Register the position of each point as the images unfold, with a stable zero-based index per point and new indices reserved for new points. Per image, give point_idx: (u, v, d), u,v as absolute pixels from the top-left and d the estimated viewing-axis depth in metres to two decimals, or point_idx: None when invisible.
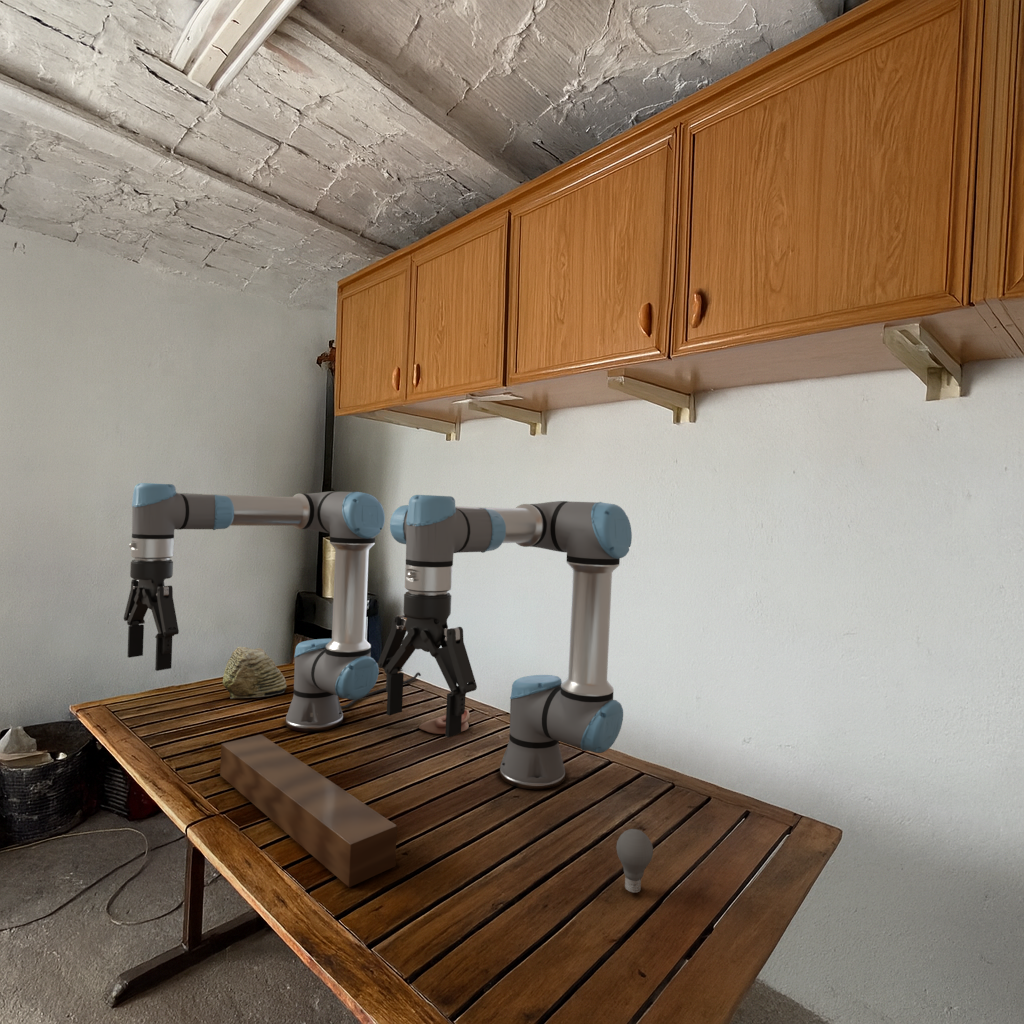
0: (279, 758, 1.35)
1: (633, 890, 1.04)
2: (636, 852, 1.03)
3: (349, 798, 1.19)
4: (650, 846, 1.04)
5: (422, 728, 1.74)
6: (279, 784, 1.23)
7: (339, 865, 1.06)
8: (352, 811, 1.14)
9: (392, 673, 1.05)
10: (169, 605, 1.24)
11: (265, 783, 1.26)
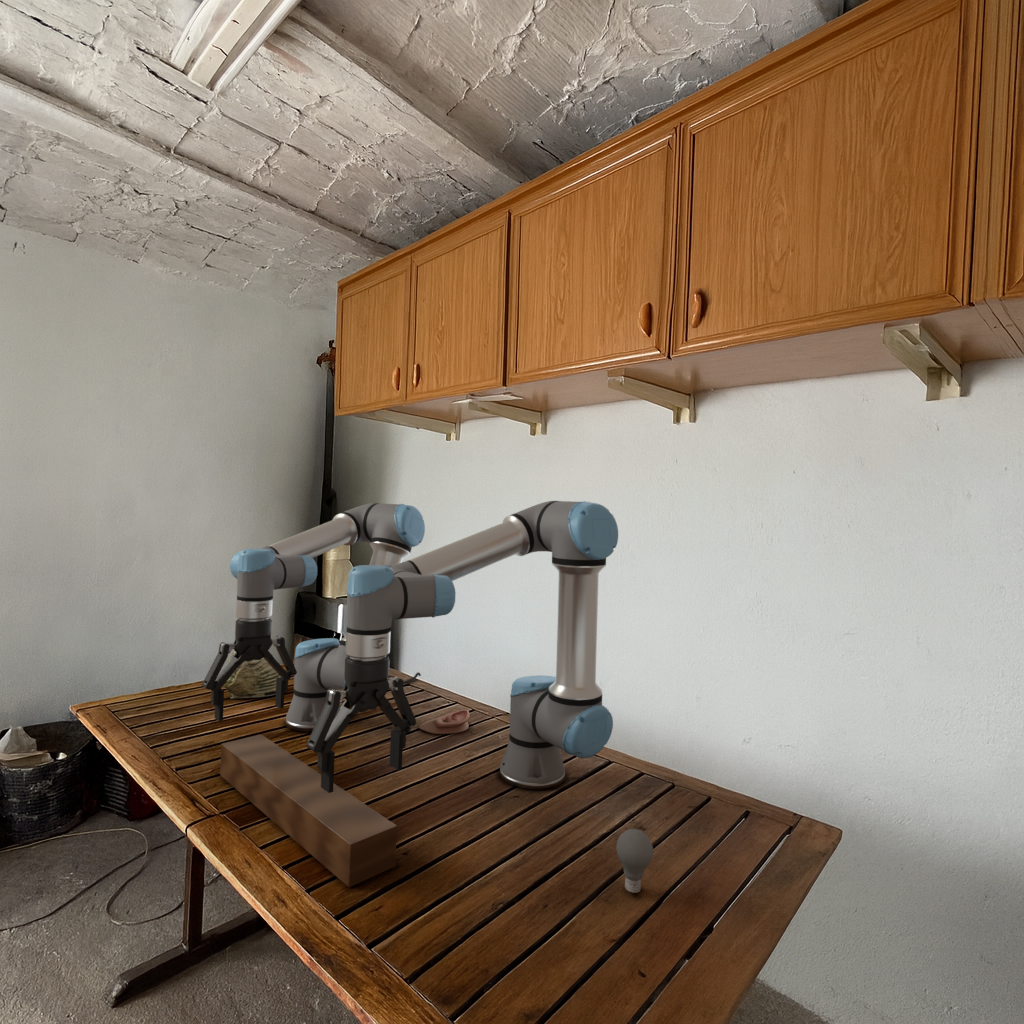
0: (279, 758, 1.35)
1: (633, 890, 1.04)
2: (636, 852, 1.03)
3: (349, 798, 1.19)
4: (650, 846, 1.04)
5: (422, 728, 1.74)
6: (279, 784, 1.23)
7: (339, 865, 1.06)
8: (352, 811, 1.14)
9: None
10: None
11: (265, 783, 1.26)
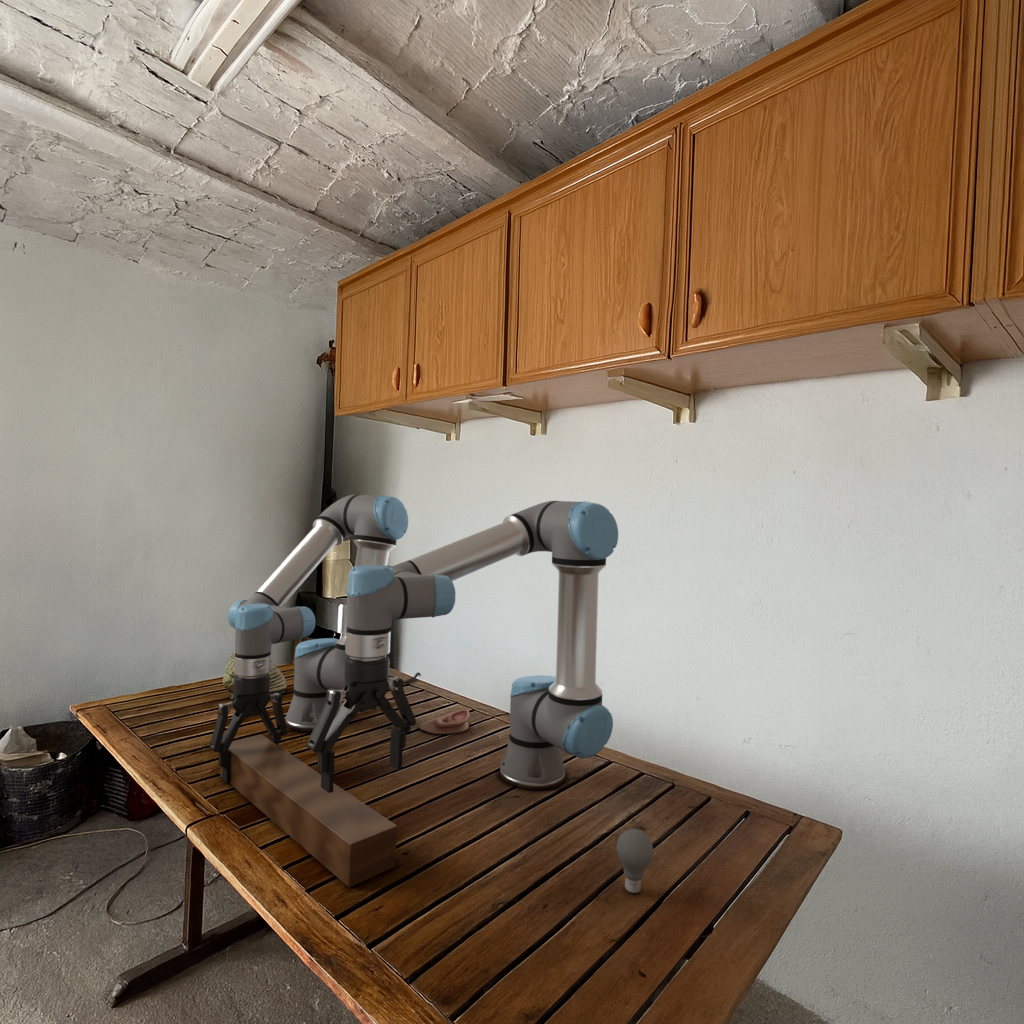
0: (278, 758, 1.35)
1: (633, 890, 1.04)
2: (636, 852, 1.03)
3: (349, 798, 1.19)
4: (650, 846, 1.04)
5: (422, 728, 1.74)
6: (279, 784, 1.23)
7: (339, 865, 1.06)
8: (352, 811, 1.14)
9: None
10: None
11: (265, 783, 1.26)
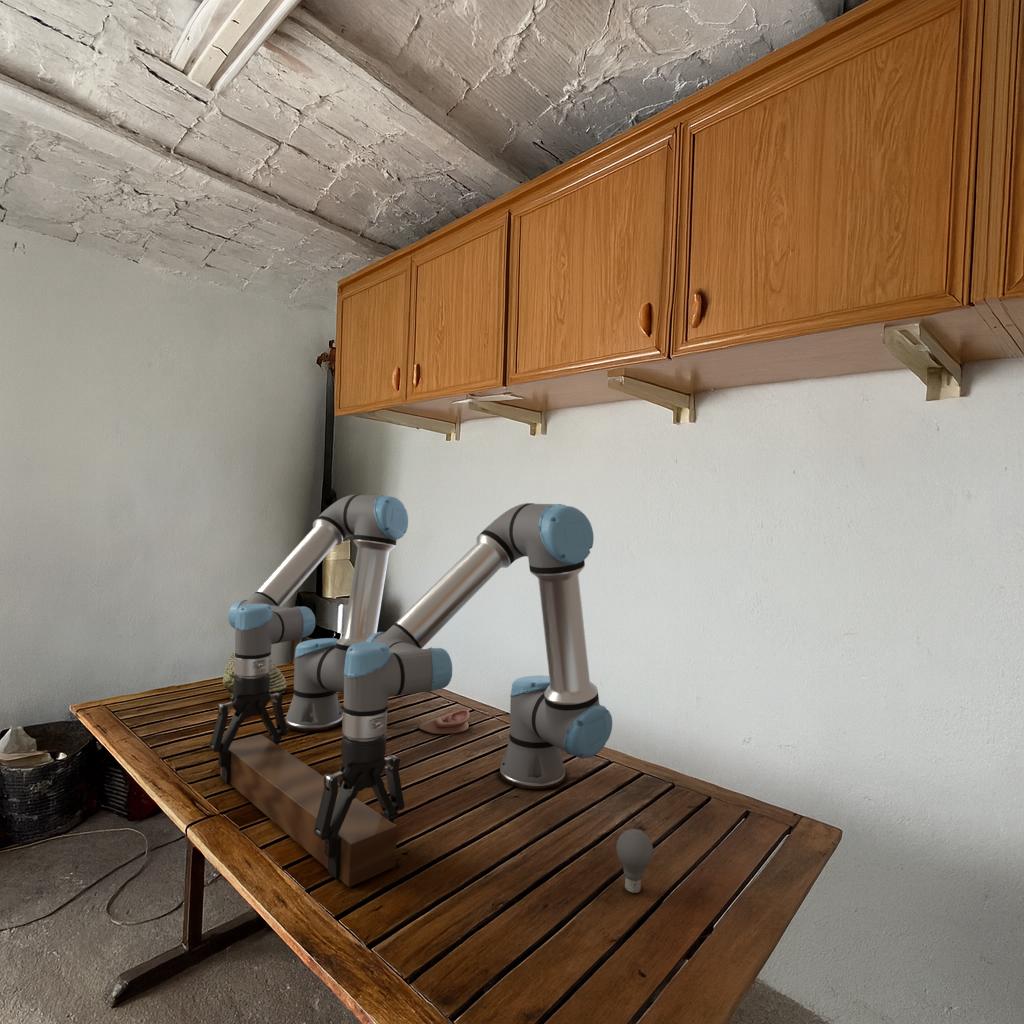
0: (278, 758, 1.35)
1: (633, 890, 1.04)
2: (636, 852, 1.03)
3: None
4: (650, 846, 1.04)
5: (422, 728, 1.74)
6: (279, 784, 1.23)
7: None
8: (352, 811, 1.14)
9: None
10: None
11: (265, 783, 1.26)
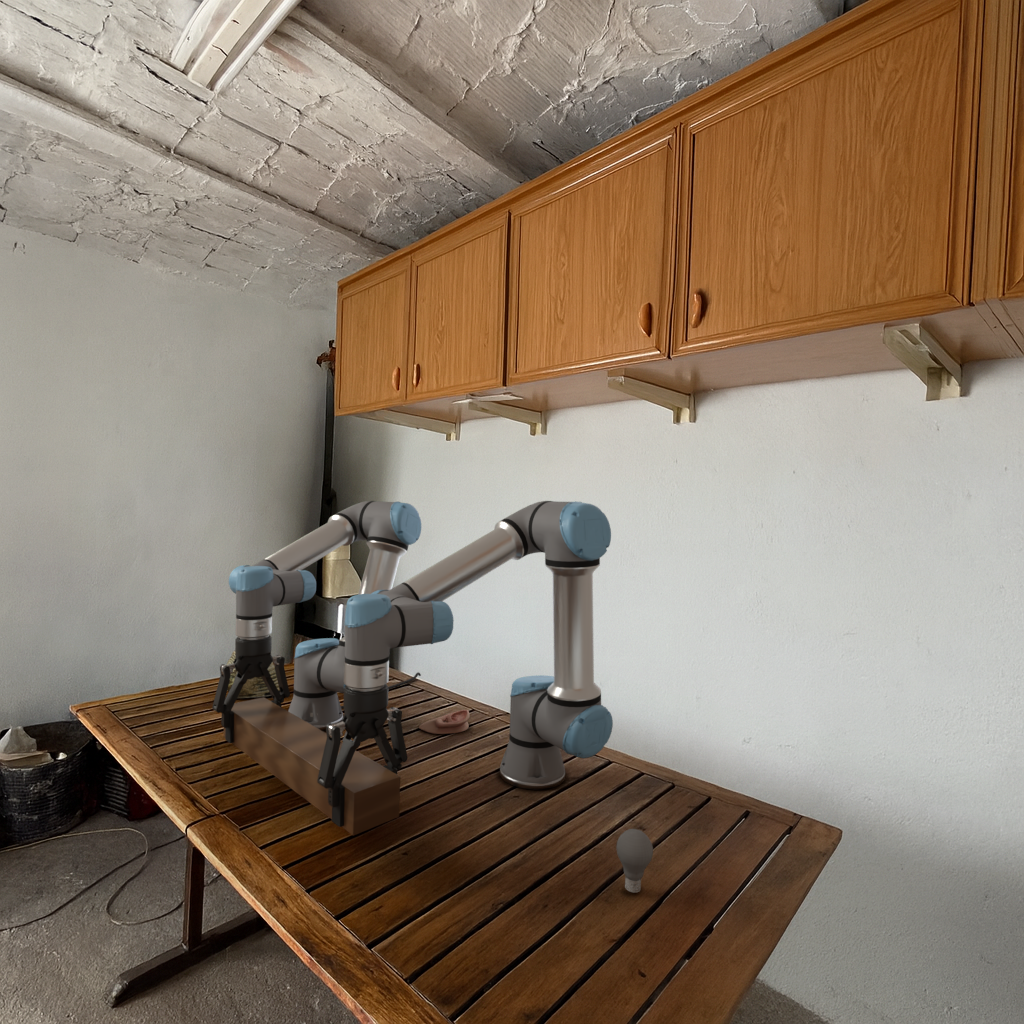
0: (281, 717, 1.35)
1: (633, 890, 1.04)
2: (636, 852, 1.03)
3: None
4: (650, 846, 1.04)
5: (422, 728, 1.74)
6: (282, 741, 1.23)
7: None
8: (356, 763, 1.14)
9: None
10: None
11: (268, 741, 1.26)
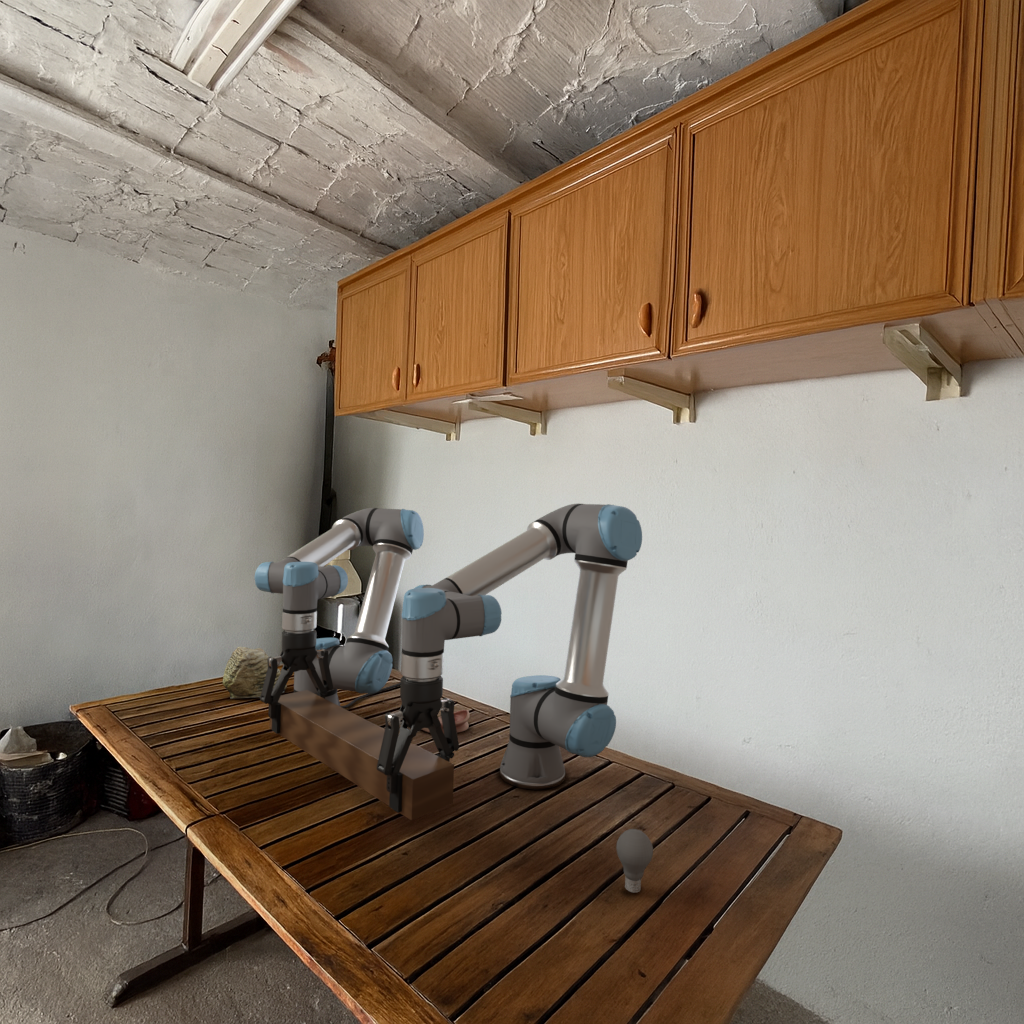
0: (328, 709, 1.39)
1: (633, 890, 1.04)
2: (636, 852, 1.03)
3: None
4: (650, 846, 1.04)
5: None
6: (334, 731, 1.27)
7: None
8: (409, 752, 1.18)
9: None
10: None
11: (319, 731, 1.29)
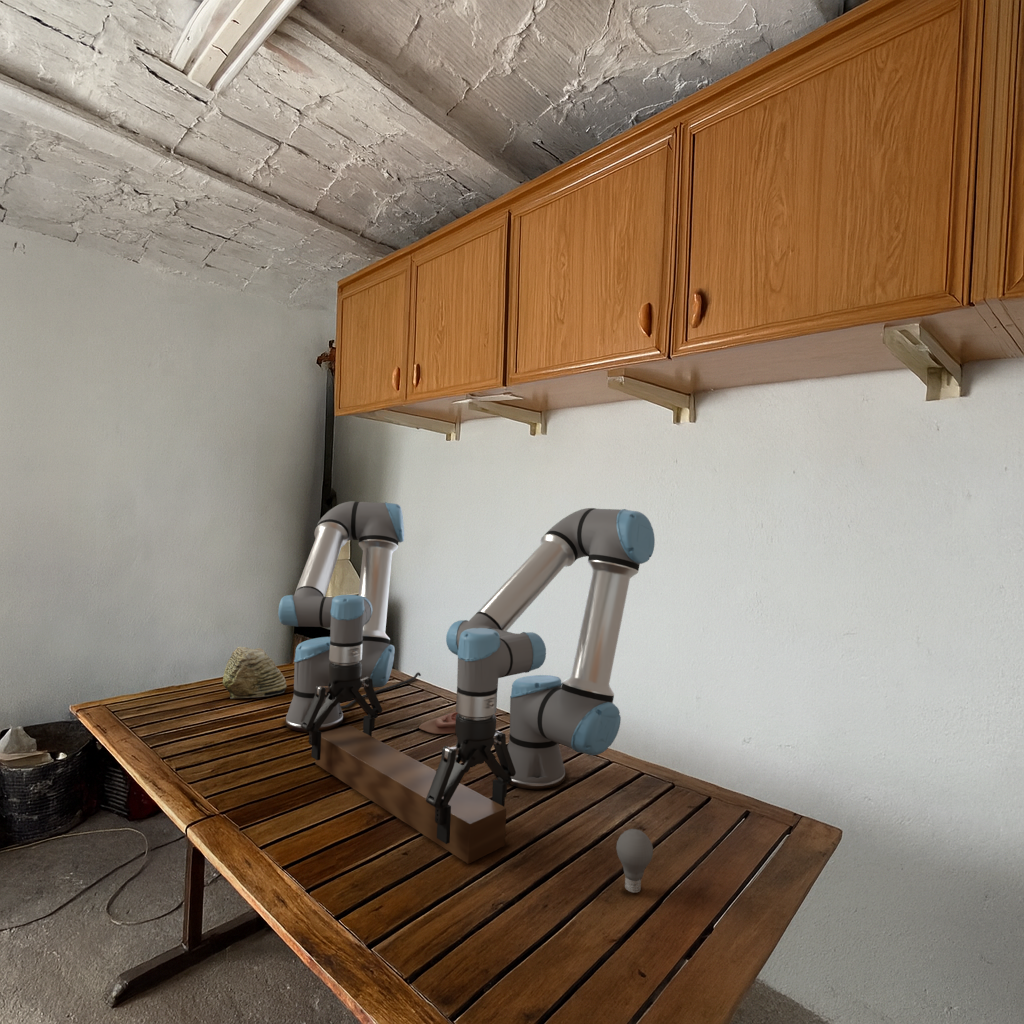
0: (375, 747, 1.43)
1: (633, 890, 1.04)
2: (636, 852, 1.03)
3: None
4: (650, 846, 1.04)
5: (422, 728, 1.74)
6: (385, 771, 1.31)
7: (456, 844, 1.14)
8: (461, 794, 1.22)
9: None
10: None
11: (369, 770, 1.34)
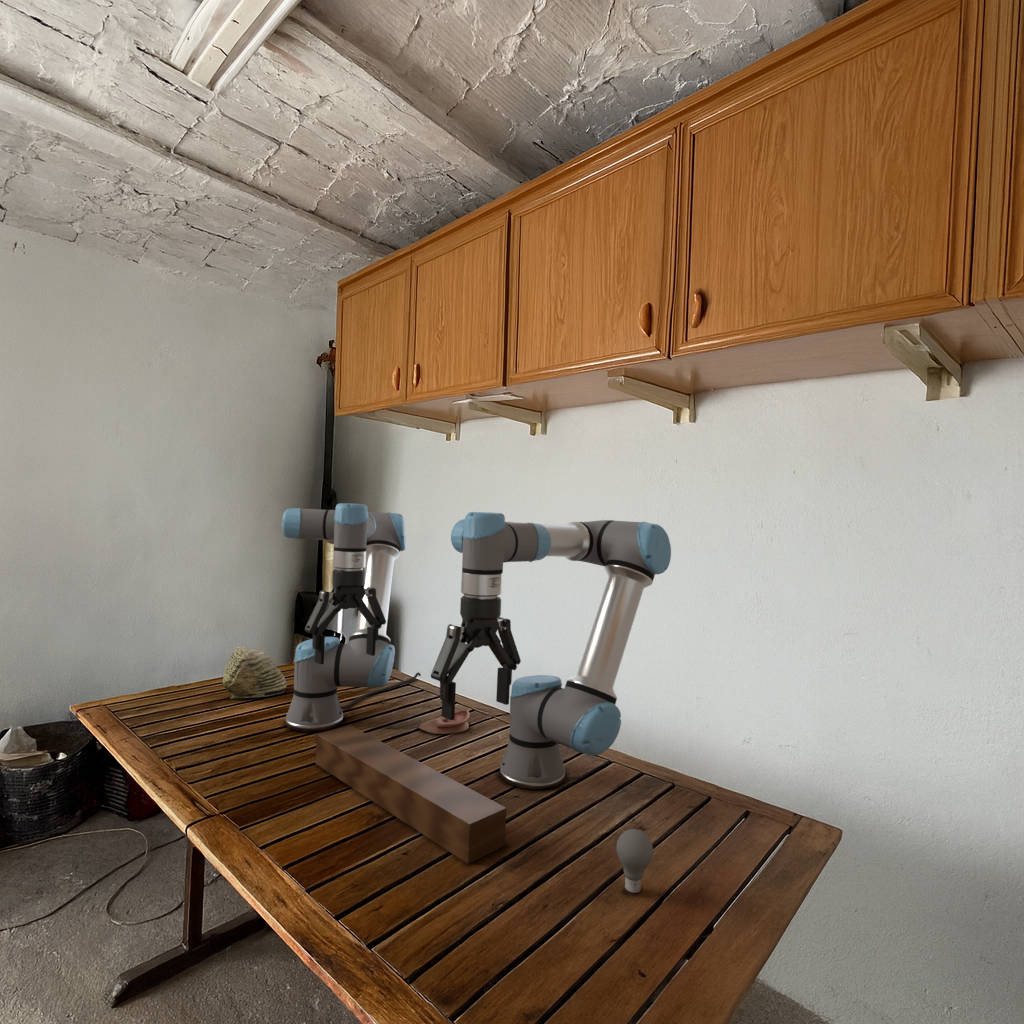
0: (375, 747, 1.43)
1: (633, 890, 1.04)
2: (636, 852, 1.03)
3: (453, 783, 1.27)
4: (650, 846, 1.04)
5: (422, 728, 1.74)
6: (385, 771, 1.31)
7: (456, 844, 1.14)
8: (461, 794, 1.22)
9: None
10: None
11: (369, 770, 1.34)
